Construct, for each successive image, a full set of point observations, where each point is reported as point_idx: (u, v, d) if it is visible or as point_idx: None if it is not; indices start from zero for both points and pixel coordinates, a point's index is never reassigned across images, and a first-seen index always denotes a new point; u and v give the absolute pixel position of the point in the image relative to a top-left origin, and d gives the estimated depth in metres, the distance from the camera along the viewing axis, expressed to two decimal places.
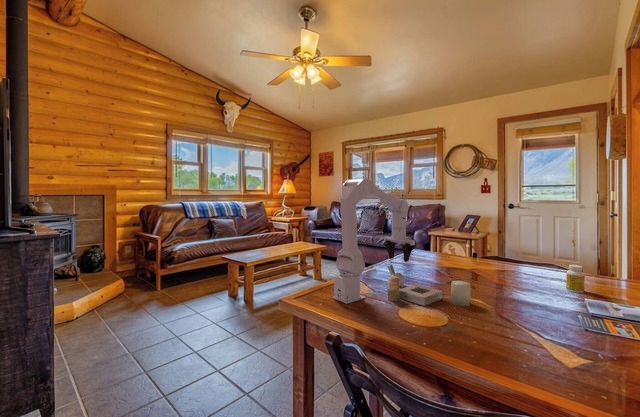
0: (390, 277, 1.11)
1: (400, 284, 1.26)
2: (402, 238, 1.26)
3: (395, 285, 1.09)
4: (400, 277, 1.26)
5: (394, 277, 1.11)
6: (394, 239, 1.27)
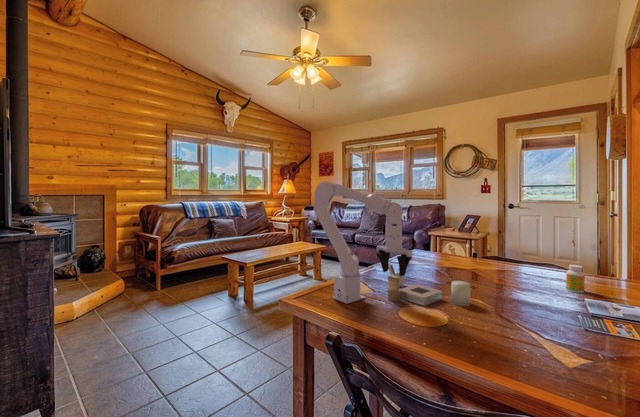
0: (390, 277, 1.11)
1: (400, 284, 1.26)
2: (397, 248, 1.07)
3: (395, 285, 1.09)
4: (400, 277, 1.26)
5: (394, 277, 1.11)
6: (388, 249, 1.08)
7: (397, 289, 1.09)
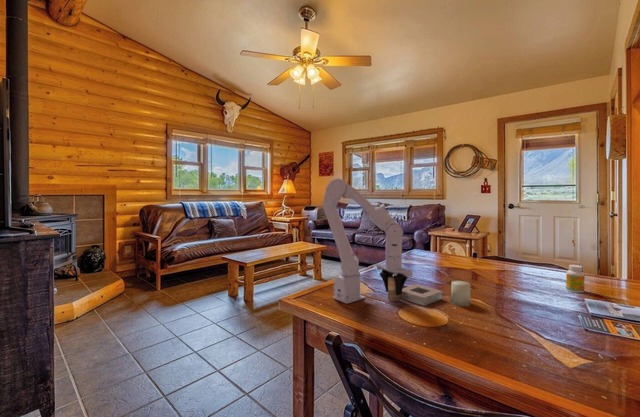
0: (390, 277, 1.11)
1: None
2: (397, 268, 1.08)
3: (395, 285, 1.09)
4: None
5: None
6: (388, 269, 1.09)
7: None
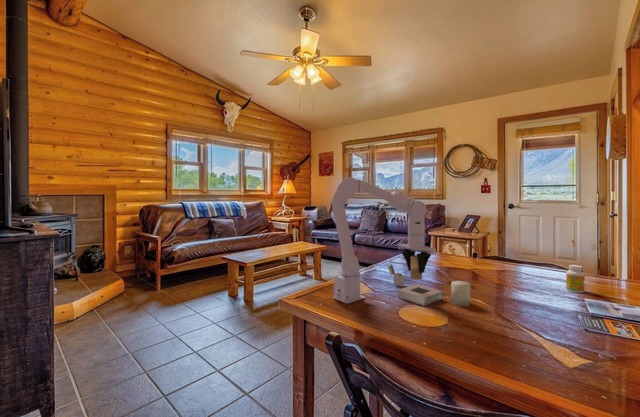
0: (412, 256, 1.11)
1: (400, 284, 1.26)
2: (420, 246, 1.08)
3: (418, 263, 1.09)
4: (400, 277, 1.26)
5: None
6: (411, 247, 1.09)
7: None
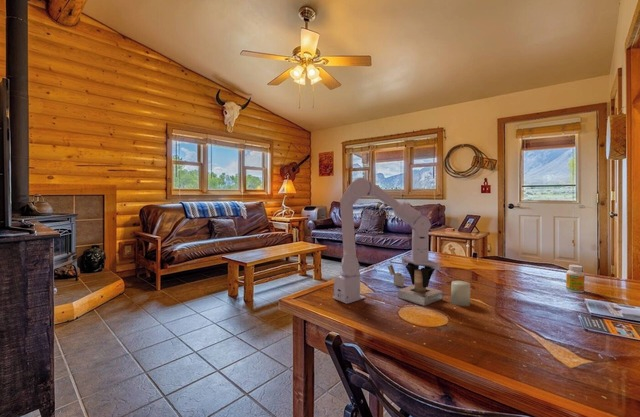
0: (416, 270, 1.11)
1: (400, 284, 1.26)
2: (424, 261, 1.08)
3: (422, 277, 1.09)
4: (400, 277, 1.26)
5: (420, 270, 1.11)
6: (415, 262, 1.09)
7: None
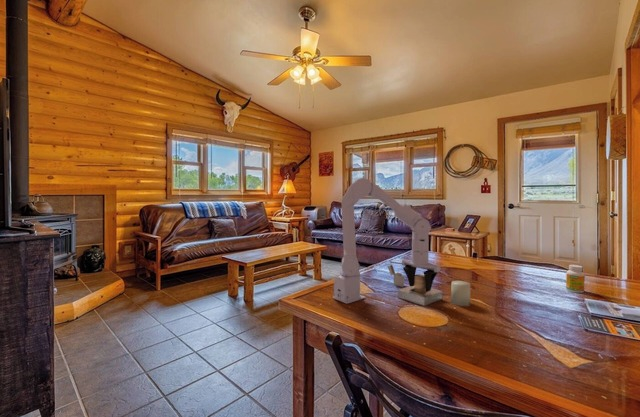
0: (417, 275, 1.11)
1: (400, 284, 1.26)
2: (424, 263, 1.08)
3: (422, 283, 1.09)
4: (400, 277, 1.26)
5: (421, 275, 1.11)
6: (415, 264, 1.09)
7: (424, 287, 1.10)
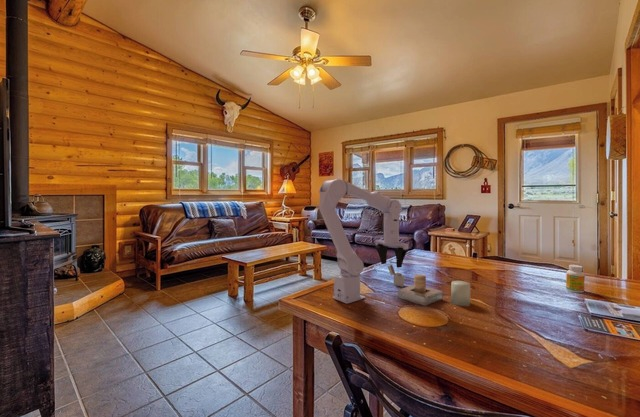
0: (416, 275, 1.11)
1: (400, 284, 1.26)
2: (395, 242, 1.16)
3: (422, 283, 1.09)
4: (400, 277, 1.26)
5: (420, 275, 1.11)
6: (386, 243, 1.17)
7: (424, 287, 1.10)
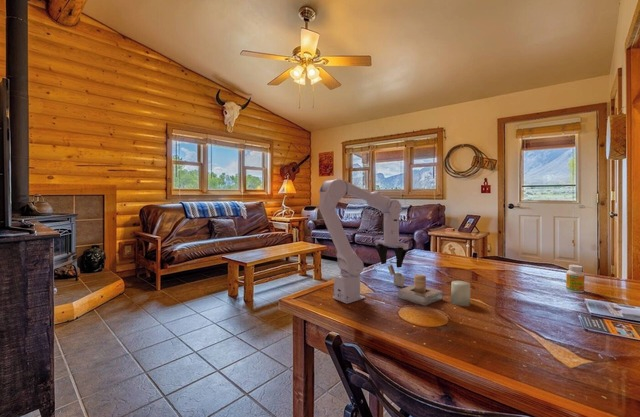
0: (416, 275, 1.11)
1: (400, 284, 1.26)
2: (395, 242, 1.16)
3: (422, 283, 1.09)
4: (400, 277, 1.26)
5: (420, 275, 1.11)
6: (386, 243, 1.17)
7: (424, 287, 1.10)
